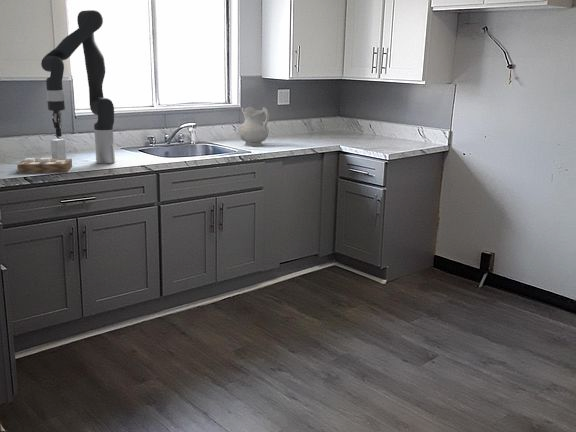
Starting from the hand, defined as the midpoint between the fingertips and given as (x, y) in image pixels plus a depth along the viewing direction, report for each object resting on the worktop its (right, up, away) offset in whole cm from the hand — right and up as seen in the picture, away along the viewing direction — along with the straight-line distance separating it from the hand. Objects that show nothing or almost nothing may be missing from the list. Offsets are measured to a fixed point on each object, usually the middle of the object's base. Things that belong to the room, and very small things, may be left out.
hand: (59, 136), depth 292 cm
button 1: (-14, -13, 0) cm, 19 cm away
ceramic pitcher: (+89, +7, +98) cm, 132 cm away
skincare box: (-8, -11, +22) cm, 26 cm away
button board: (-7, -16, +3) cm, 17 cm away
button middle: (-7, -12, +2) cm, 14 cm away
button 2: (0, -13, +3) cm, 14 cm away
